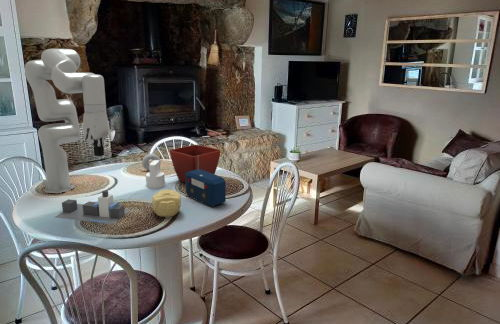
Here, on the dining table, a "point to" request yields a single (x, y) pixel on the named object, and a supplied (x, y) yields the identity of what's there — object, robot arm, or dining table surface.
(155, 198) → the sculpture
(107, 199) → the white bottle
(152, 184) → the cylinder with rectangular tab
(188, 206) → the dining table surface
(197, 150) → the plant pot
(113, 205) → the grey toy block board
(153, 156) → the donut
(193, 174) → the radio
